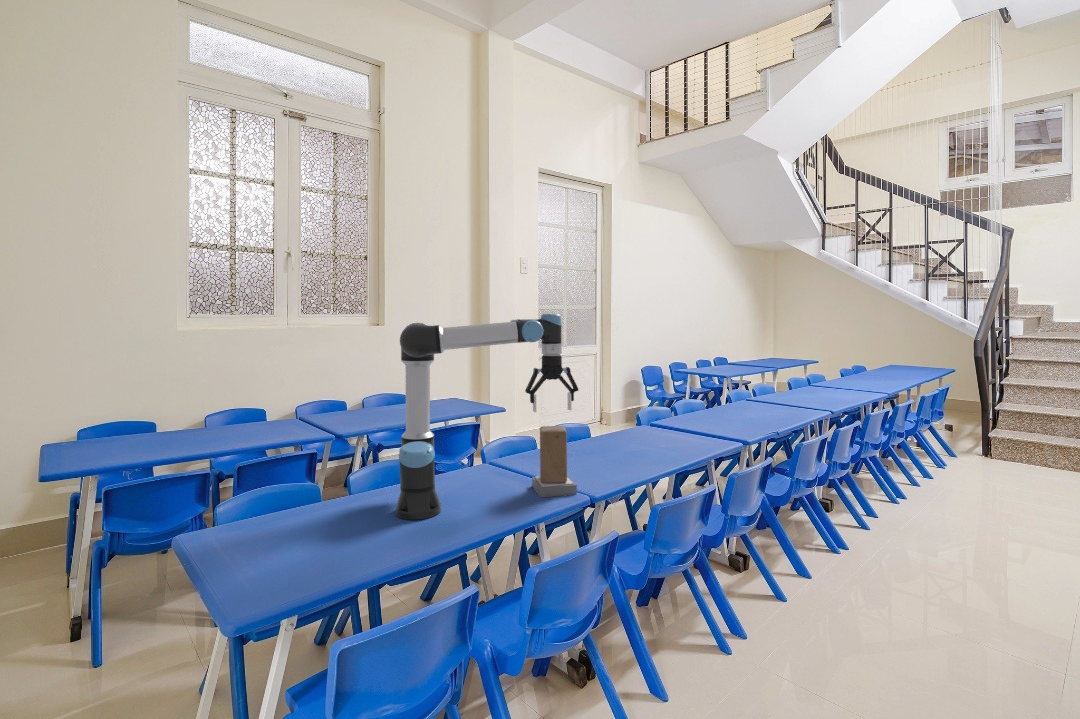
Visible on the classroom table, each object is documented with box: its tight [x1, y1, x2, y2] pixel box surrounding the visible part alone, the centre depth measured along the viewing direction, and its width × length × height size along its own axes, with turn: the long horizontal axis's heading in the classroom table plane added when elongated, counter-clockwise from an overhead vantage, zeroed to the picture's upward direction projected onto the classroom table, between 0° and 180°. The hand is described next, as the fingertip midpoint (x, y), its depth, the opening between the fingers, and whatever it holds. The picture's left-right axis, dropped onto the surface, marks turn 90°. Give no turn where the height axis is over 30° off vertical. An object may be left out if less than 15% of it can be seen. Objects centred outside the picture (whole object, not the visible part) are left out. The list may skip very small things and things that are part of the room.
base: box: [531, 475, 578, 498], centre depth 220 cm, size 14×14×4 cm
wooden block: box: [539, 425, 568, 483], centre depth 218 cm, size 10×10×20 cm
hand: (552, 410), depth 217 cm, fingers open, 13 cm apart
